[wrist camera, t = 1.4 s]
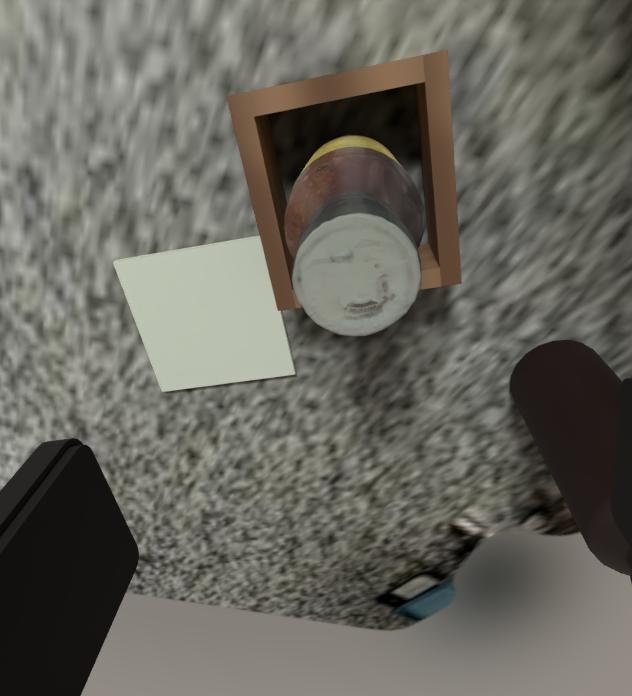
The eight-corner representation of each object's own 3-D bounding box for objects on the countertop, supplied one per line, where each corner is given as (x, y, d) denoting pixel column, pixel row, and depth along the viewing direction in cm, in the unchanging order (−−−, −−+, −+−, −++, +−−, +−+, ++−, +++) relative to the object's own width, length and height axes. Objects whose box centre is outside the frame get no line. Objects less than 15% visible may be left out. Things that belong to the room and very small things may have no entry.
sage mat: (263, 234, 35) (262, 236, 35) (295, 371, 40) (295, 374, 40) (115, 259, 37) (112, 262, 36) (164, 388, 42) (162, 391, 41)
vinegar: (620, 373, 39) (846, 621, 21) (548, 428, 41) (695, 689, 24) (561, 320, 37) (753, 542, 19) (489, 381, 40) (601, 625, 22)
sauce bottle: (379, 242, 35) (409, 406, 18) (292, 214, 35) (232, 355, 17) (416, 144, 32) (495, 226, 15) (321, 112, 32) (283, 156, 14)
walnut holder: (433, 53, 30) (447, 49, 25) (447, 257, 35) (461, 283, 31) (244, 93, 31) (226, 96, 27) (286, 283, 37) (277, 311, 32)
